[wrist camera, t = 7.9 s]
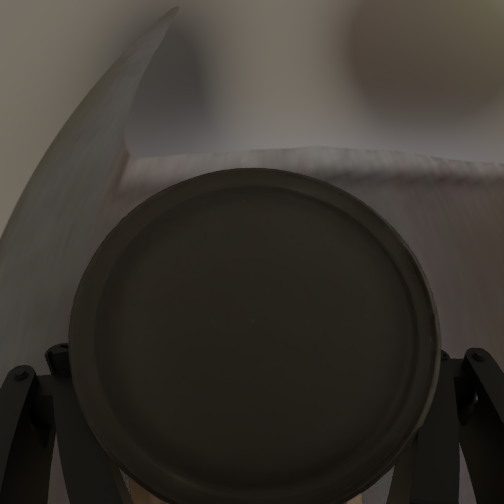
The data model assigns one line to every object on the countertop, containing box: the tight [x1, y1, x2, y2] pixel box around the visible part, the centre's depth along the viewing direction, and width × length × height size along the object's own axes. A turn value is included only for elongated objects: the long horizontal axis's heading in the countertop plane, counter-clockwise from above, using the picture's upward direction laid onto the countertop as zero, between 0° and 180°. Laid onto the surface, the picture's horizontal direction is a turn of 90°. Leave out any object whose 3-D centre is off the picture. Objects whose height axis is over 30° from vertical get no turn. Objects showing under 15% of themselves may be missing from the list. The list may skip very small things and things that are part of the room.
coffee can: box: [68, 168, 441, 504], centre depth 13 cm, size 10×10×14 cm
